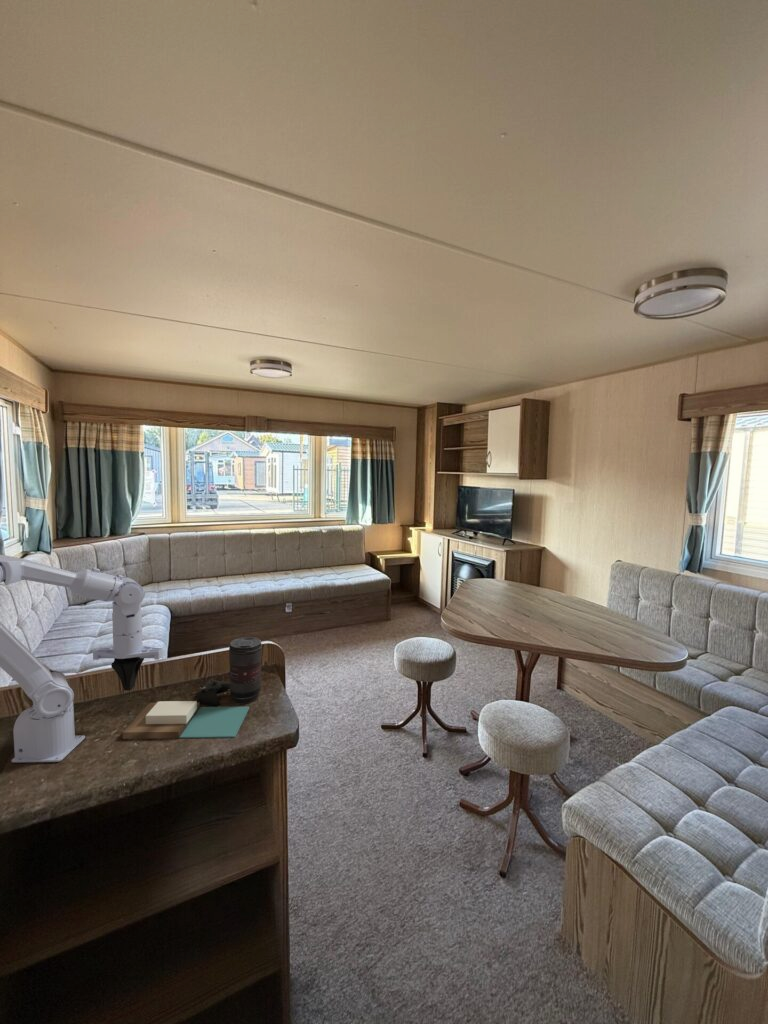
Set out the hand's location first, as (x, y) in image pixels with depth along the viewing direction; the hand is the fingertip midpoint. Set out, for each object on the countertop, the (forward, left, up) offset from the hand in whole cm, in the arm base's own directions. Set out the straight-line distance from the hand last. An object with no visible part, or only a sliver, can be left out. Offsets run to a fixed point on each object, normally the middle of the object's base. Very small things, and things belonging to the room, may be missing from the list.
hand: (129, 688), depth 97 cm
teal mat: (+20, 0, -8) cm, 21 cm away
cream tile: (+9, 0, -6) cm, 11 cm away
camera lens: (+23, +11, -9) cm, 27 cm away
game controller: (+15, +11, -9) cm, 21 cm away
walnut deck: (+7, 0, -8) cm, 11 cm away
